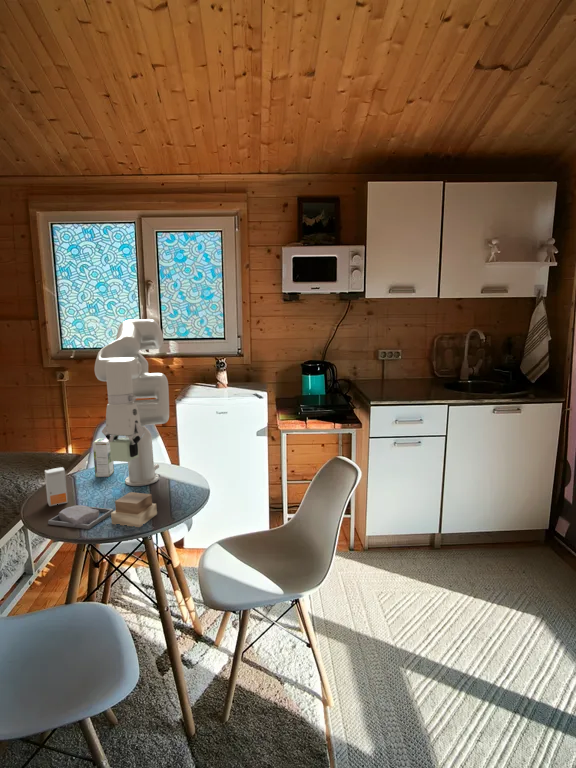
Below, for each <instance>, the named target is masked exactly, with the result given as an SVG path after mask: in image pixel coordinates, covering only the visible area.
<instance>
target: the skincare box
mask: <svg viewBox="0 0 576 768" xmlns="http://www.w3.org/2000/svg"><path fill="white" fill-rule="evenodd" d="M44 479H45V480H44V481H45V489H46V491H45V492H46V500H47V504H48V506H49V507H54V506H58V505H63V504H68V503H69V501H68V492H67V491H68V490H67V479H66V470H65V468H64V467H63V466H62V467H61V466H60V467H56V468H51V469H50V468H49V469H45V470H44ZM57 504H58V505H57Z"/></svg>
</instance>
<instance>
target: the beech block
mask: <svg viewBox="0 0 576 768" xmlns="http://www.w3.org/2000/svg"><path fill="white" fill-rule="evenodd" d="M157 510H158V509H157V503H153V502H152V505H151V506H149V507H148V508H147V509H145V510H144V511H142V512H141V513H139V514H130V513H121V512H116V509H115V510H113V512H112V513H111V515H110V516H111V517H110V518H111V525H116V524H120V525H119V526H124V525H127V526H126V527H133V526H135V527H134V528H141V527H143V526H144V525H145V524H146V523H147V522H149V521H150V520H152V518H154V517H155V516H157V515H158V511H157ZM143 524H144V525H143Z"/></svg>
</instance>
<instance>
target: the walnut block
mask: <svg viewBox="0 0 576 768" xmlns="http://www.w3.org/2000/svg"><path fill="white" fill-rule="evenodd" d="M152 503H153V496H152V493H143V492H133V491H130V492H128V493H126V494H125V495H123V496H121V497H120V498H118V499H116V500H115V501H114V505H115V510H116V512H121V513H130V514H139V513H141V512H142V511H144V510H145V509H147V508H148V507H149V506H151V505H152Z"/></svg>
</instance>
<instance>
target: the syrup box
mask: <svg viewBox="0 0 576 768" xmlns="http://www.w3.org/2000/svg"><path fill="white" fill-rule="evenodd" d="M92 450H93V452H92V453H93V462H94V463H93V464H94V477H96V478H108V477H109V478H110V476H112V475H113V474H114V473H115V466H114V461H111V452H110V443H109V440H108V439H107V438H106V437H101V438H97V439H96V440H95V441H93V442H92Z"/></svg>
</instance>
